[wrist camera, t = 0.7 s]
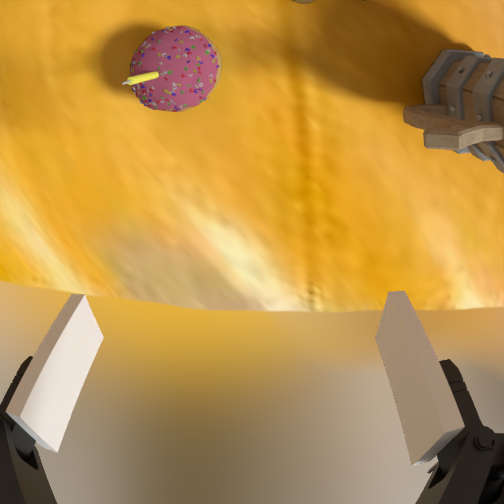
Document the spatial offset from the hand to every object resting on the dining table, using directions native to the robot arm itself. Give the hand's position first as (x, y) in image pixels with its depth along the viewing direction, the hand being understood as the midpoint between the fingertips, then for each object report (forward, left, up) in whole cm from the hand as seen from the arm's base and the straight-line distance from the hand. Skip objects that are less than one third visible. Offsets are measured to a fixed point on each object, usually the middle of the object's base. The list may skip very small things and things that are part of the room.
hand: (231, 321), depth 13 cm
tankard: (+6, +23, -25) cm, 34 cm away
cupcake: (-12, +1, -25) cm, 28 cm away
